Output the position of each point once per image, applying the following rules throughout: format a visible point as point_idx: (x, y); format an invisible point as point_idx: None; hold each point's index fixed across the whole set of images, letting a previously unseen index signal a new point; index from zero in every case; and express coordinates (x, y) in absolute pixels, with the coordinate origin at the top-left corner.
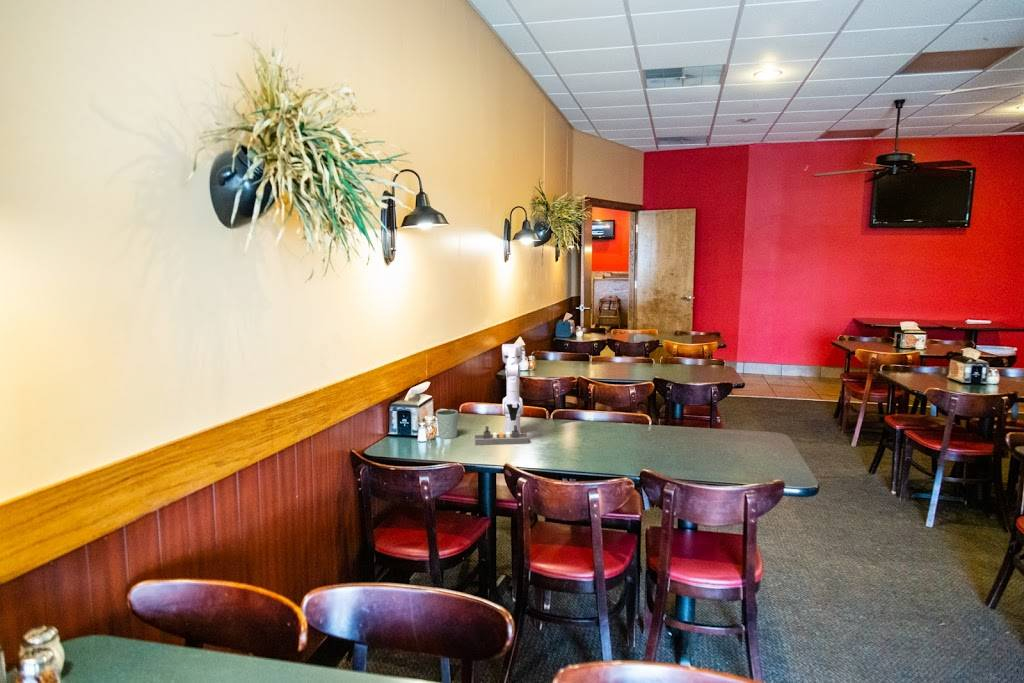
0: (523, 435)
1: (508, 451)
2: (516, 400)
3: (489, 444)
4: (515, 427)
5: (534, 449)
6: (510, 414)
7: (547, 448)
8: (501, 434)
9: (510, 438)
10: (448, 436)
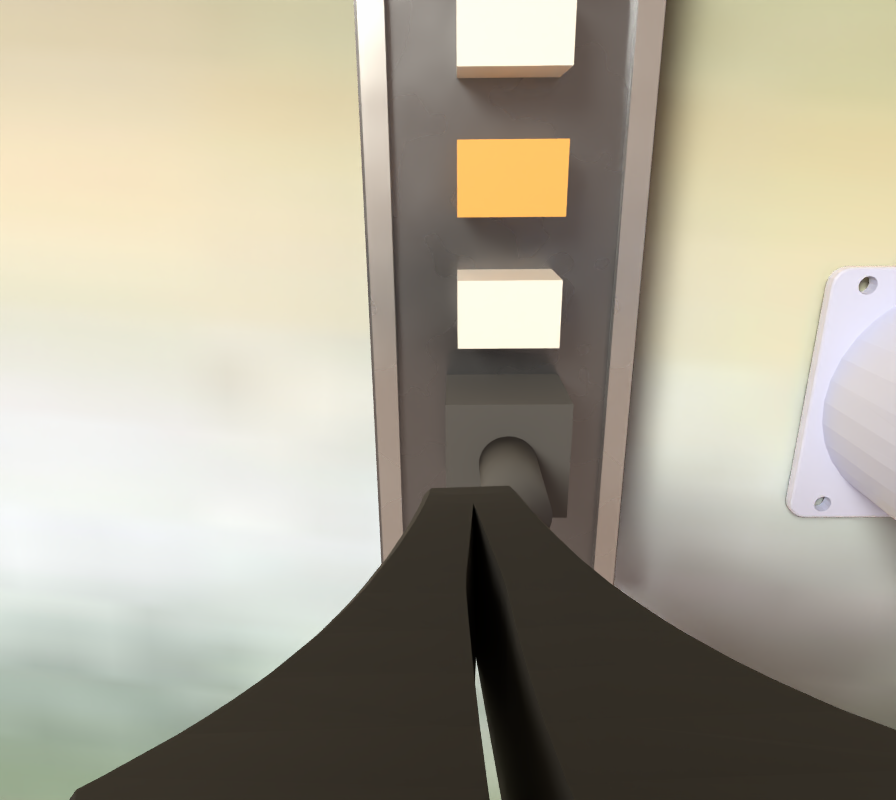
0: None
1: (15, 254)
2: None
3: None
4: None
5: (140, 589)
6: (367, 594)
7: (189, 719)
8: (457, 179)
9: (375, 336)
10: None
